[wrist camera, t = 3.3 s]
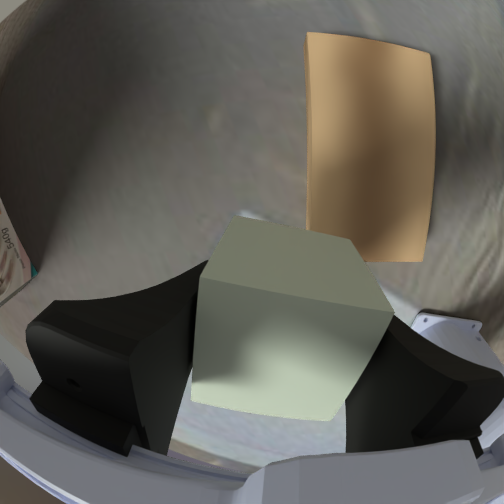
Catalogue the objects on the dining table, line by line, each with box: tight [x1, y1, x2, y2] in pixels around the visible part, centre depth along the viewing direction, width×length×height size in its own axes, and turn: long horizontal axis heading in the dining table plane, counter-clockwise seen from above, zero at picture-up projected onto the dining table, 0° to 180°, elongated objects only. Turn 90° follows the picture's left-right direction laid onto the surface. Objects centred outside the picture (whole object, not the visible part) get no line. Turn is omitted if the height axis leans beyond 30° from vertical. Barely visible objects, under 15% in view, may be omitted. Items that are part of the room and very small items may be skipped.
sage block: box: [191, 215, 395, 421], centre depth 10 cm, size 5×5×6 cm
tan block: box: [304, 32, 436, 262], centre depth 15 cm, size 8×14×3 cm, turn 2°
